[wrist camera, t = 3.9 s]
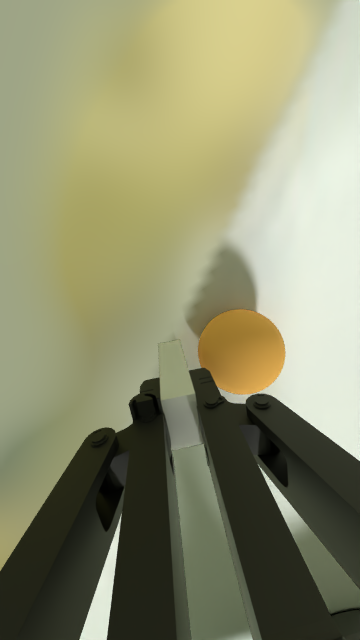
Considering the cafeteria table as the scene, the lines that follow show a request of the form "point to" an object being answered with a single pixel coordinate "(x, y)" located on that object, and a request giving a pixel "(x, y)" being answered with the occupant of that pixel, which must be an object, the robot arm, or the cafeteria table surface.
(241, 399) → the cafeteria table surface
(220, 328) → the ball
